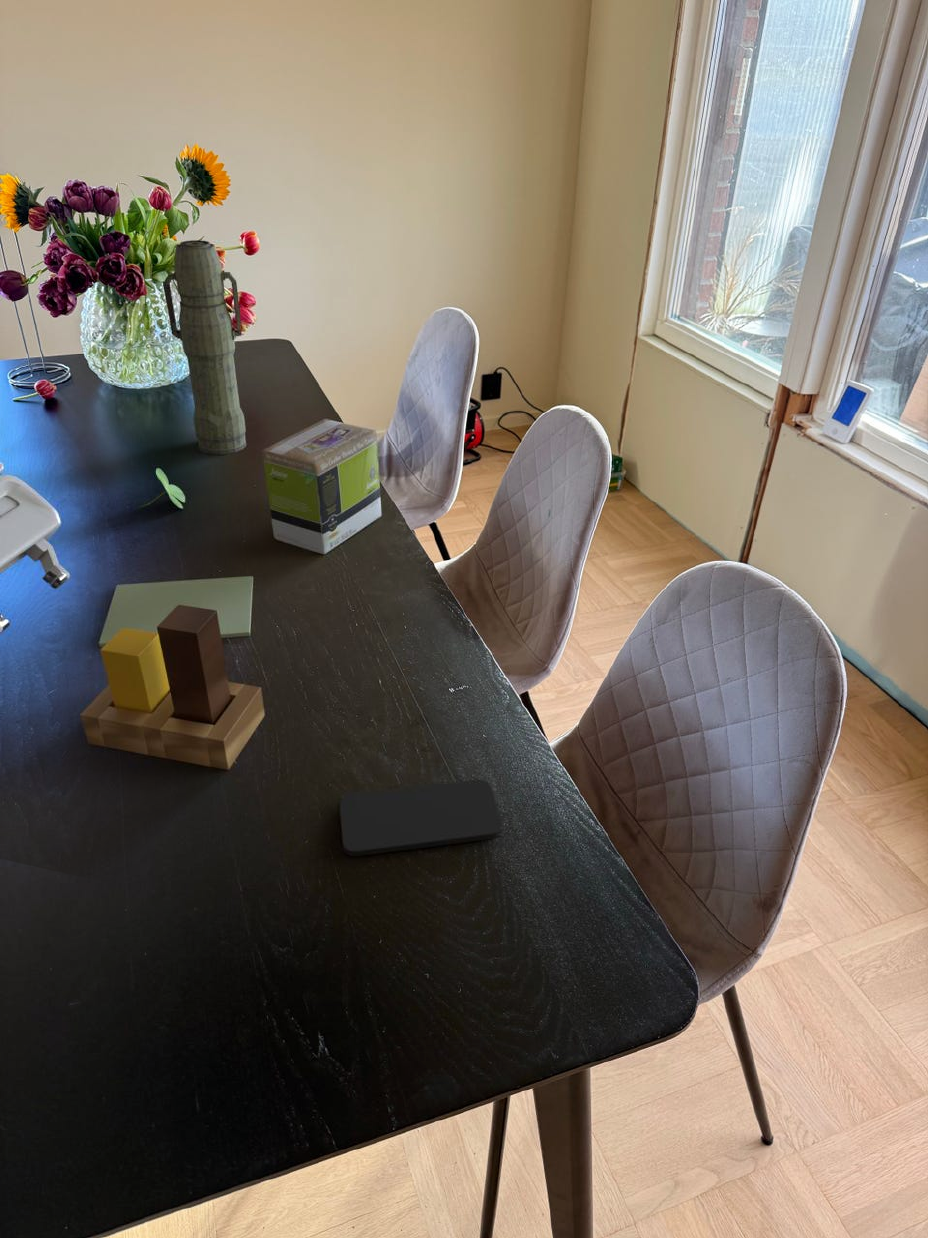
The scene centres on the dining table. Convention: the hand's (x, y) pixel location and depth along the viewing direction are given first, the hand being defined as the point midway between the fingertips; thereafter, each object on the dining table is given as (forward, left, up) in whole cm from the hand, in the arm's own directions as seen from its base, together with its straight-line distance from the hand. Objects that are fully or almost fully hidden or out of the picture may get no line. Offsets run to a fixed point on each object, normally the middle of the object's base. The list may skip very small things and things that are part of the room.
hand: (34, 606), depth 86 cm
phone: (+36, -21, -14) cm, 45 cm away
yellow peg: (+9, -3, -14) cm, 17 cm away
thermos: (+12, +77, -14) cm, 79 cm away
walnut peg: (+16, -6, -14) cm, 22 cm away
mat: (+10, +20, -14) cm, 26 cm away
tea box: (+30, +41, -14) cm, 53 cm away
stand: (+12, -4, -14) cm, 19 cm away
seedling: (+5, +52, -14) cm, 55 cm away
